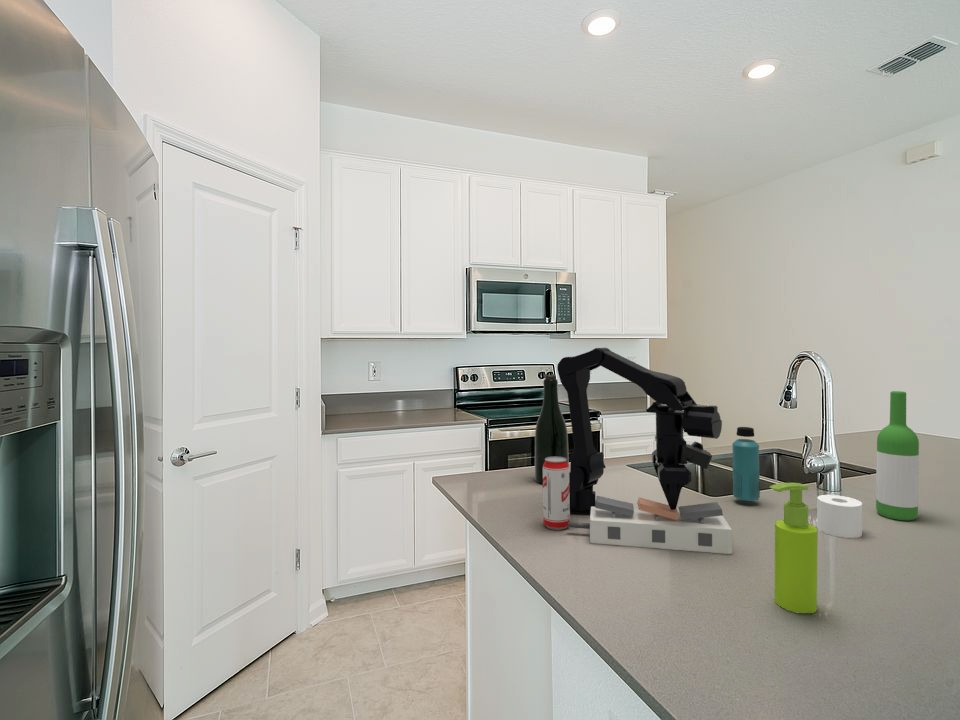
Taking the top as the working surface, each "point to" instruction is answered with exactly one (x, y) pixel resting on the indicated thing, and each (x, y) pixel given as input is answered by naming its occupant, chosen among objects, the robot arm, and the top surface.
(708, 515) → the rocker
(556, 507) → the beer can
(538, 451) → the beer bottle
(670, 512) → the rocker
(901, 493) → the wine bottle
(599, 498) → the rocker
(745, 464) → the beverage bottle
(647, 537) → the power strip
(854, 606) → the top surface
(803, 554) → the soap dispenser
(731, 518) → the top surface
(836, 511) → the toilet paper
